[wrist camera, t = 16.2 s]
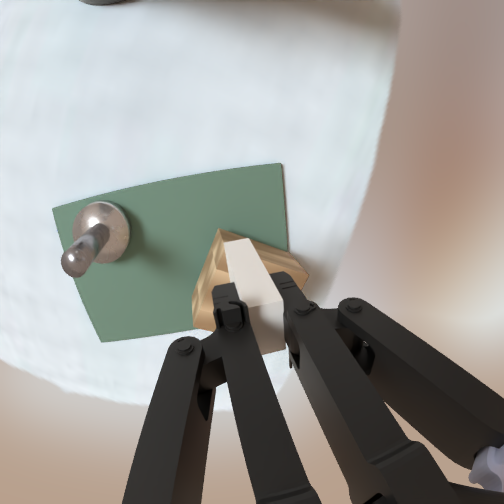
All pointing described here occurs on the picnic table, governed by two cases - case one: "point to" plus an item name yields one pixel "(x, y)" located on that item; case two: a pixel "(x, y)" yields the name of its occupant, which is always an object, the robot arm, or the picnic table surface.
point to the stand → (97, 237)
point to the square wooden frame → (218, 274)
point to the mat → (173, 245)
